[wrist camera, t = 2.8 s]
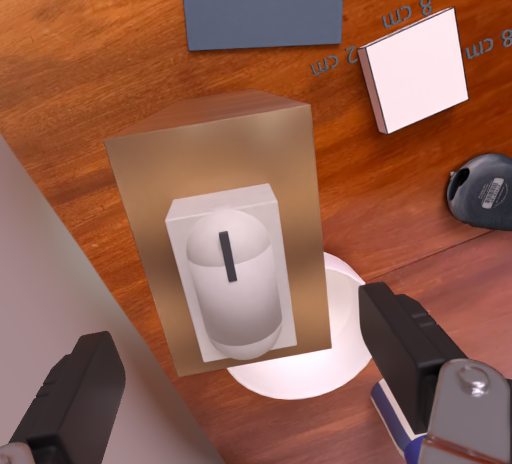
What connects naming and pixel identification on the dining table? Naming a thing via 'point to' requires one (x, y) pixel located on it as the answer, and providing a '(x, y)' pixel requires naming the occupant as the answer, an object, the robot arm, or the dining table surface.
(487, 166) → the electronic device
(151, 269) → the block
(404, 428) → the water bottle
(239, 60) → the dining table surface
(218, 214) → the white boxy piece
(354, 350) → the bowl
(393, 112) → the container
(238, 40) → the mouse pad
